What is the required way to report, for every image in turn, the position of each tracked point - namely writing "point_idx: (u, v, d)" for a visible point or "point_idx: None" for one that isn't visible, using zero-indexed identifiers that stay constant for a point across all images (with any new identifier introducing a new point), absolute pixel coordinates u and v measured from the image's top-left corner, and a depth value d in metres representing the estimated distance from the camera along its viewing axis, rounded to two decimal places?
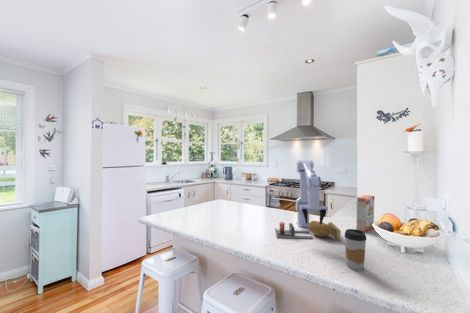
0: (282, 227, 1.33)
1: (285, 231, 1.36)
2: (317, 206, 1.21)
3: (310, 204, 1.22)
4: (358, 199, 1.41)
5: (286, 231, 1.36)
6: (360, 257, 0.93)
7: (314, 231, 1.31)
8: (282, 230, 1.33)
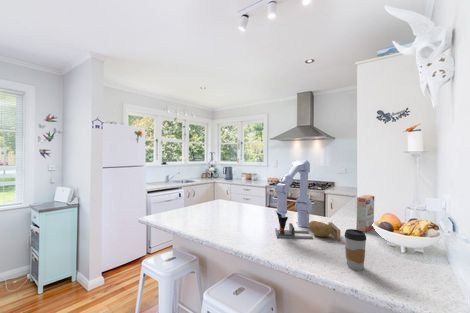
0: None
1: (285, 231, 1.36)
2: (278, 210, 1.33)
3: None
4: (358, 199, 1.41)
5: (286, 231, 1.36)
6: (360, 257, 0.93)
7: (314, 231, 1.31)
8: (282, 230, 1.33)
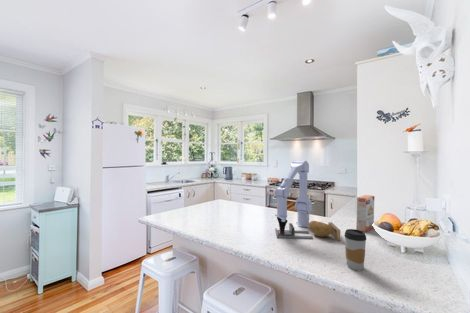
0: None
1: (285, 231, 1.36)
2: (278, 214, 1.33)
3: None
4: (358, 199, 1.41)
5: (286, 231, 1.36)
6: (360, 257, 0.93)
7: (314, 231, 1.31)
8: None
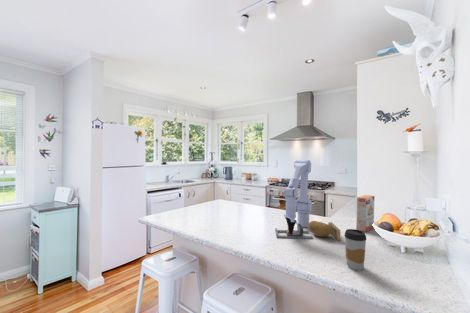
0: None
1: (293, 231, 1.35)
2: (286, 214, 1.33)
3: None
4: (358, 199, 1.41)
5: (294, 231, 1.35)
6: (360, 257, 0.93)
7: (314, 231, 1.31)
8: None
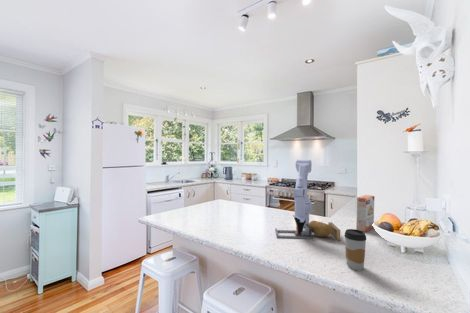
0: None
1: (302, 231, 1.35)
2: (295, 214, 1.32)
3: None
4: (358, 199, 1.41)
5: (303, 231, 1.35)
6: (360, 257, 0.93)
7: (314, 231, 1.31)
8: None
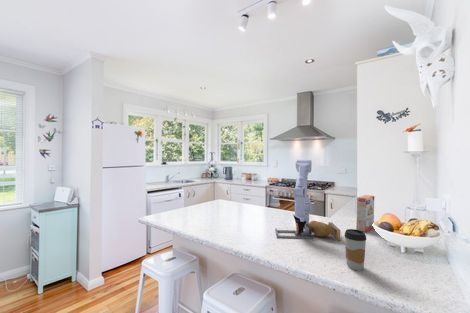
0: None
1: None
2: (296, 214, 1.32)
3: None
4: (358, 199, 1.41)
5: (303, 231, 1.35)
6: (360, 257, 0.93)
7: (314, 231, 1.31)
8: None
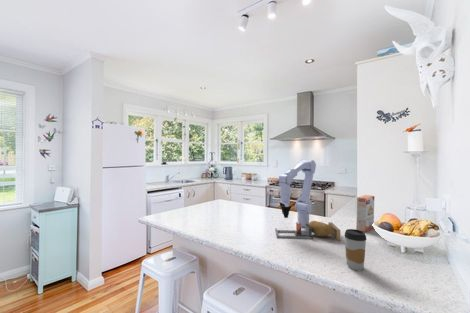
0: (299, 227, 1.32)
1: (302, 231, 1.35)
2: (281, 200, 1.38)
3: None
4: (358, 199, 1.41)
5: (303, 231, 1.35)
6: (360, 257, 0.93)
7: (314, 231, 1.31)
8: (299, 230, 1.32)
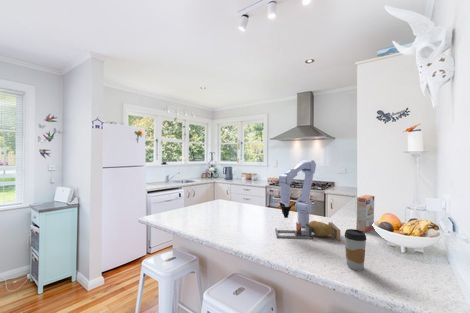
0: (299, 227, 1.32)
1: (302, 231, 1.35)
2: (281, 200, 1.38)
3: None
4: (358, 199, 1.41)
5: (303, 231, 1.35)
6: (360, 257, 0.93)
7: (314, 231, 1.31)
8: (299, 230, 1.32)
